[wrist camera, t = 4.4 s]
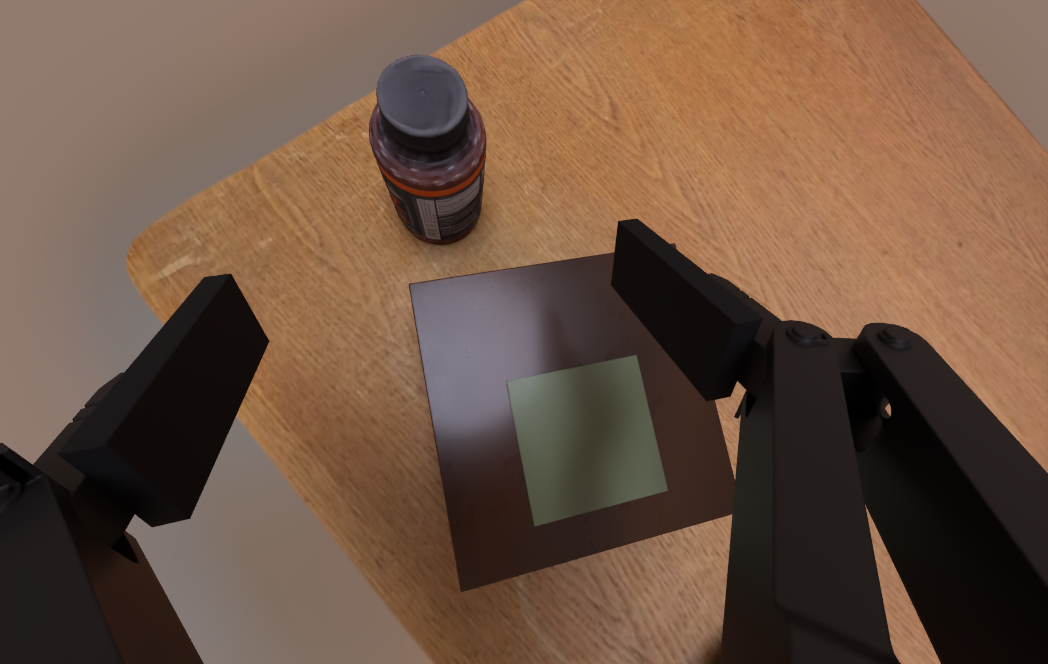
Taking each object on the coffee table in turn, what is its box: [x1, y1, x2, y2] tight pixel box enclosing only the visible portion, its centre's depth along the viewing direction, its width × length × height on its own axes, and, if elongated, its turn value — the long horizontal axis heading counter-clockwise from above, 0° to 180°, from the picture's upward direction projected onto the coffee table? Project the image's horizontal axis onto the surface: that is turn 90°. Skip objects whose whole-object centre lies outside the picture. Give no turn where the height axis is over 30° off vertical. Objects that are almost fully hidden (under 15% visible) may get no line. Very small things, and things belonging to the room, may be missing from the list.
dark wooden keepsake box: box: [409, 243, 735, 592], centre depth 24 cm, size 16×16×6 cm
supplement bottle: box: [369, 55, 486, 243], centre depth 23 cm, size 6×6×11 cm
